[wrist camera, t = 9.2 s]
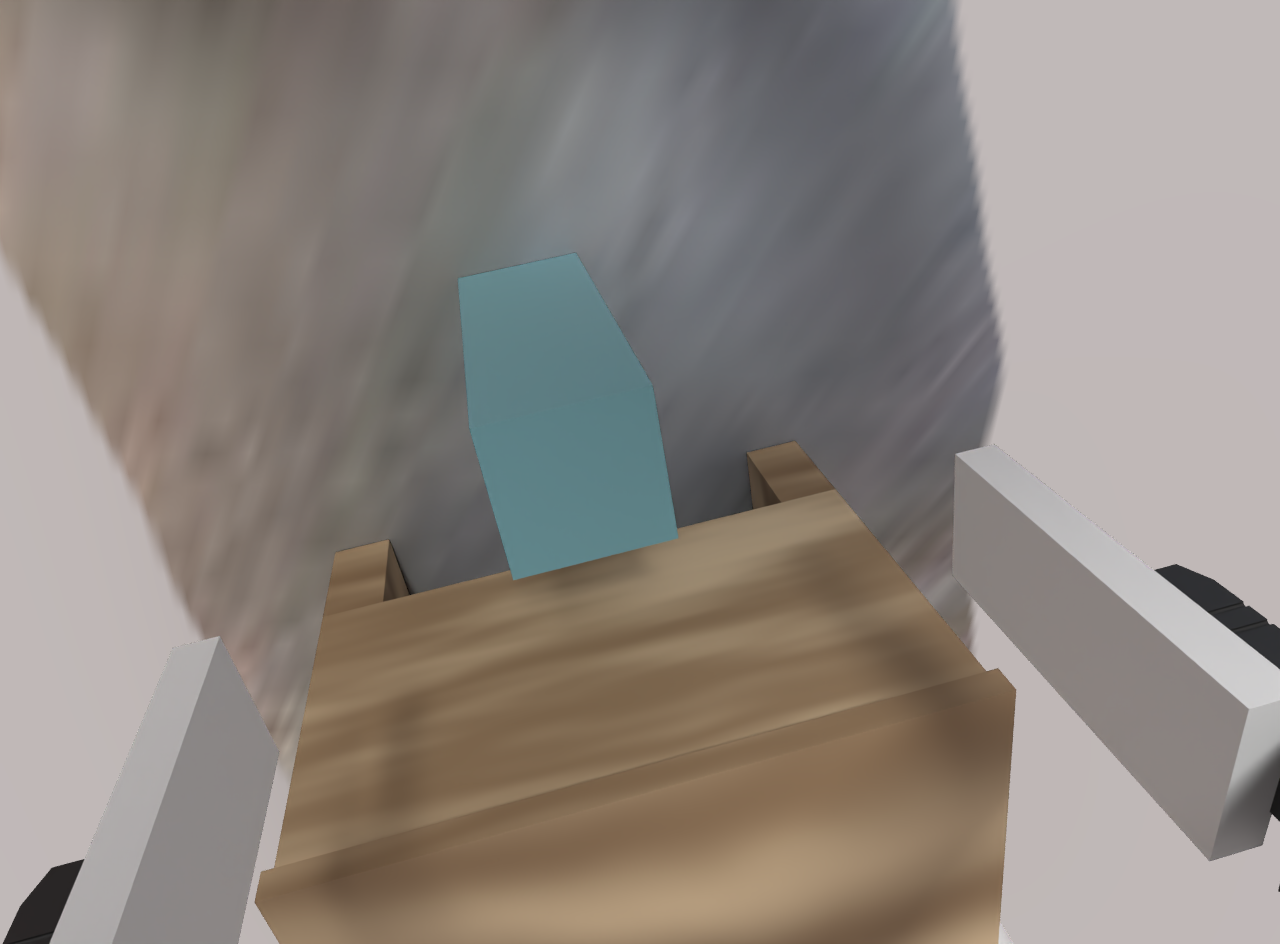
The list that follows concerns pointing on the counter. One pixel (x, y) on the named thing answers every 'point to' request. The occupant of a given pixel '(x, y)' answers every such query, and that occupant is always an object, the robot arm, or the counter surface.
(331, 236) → the counter surface
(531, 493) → the teal cube mallet
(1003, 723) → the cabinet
